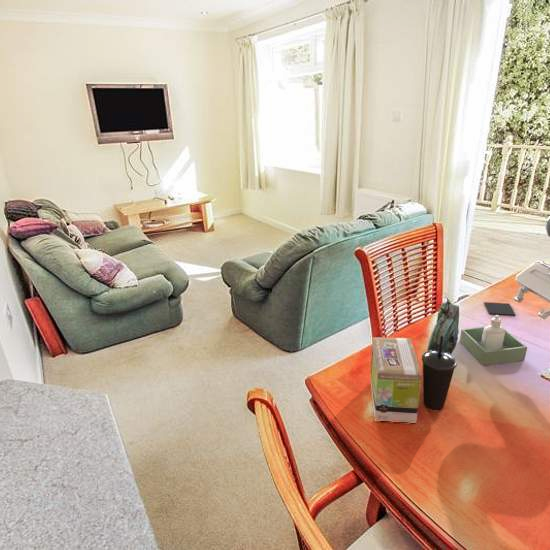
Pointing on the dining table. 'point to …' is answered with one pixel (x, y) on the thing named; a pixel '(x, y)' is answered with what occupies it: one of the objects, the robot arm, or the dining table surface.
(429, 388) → the drinking cup
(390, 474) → the dining table surface
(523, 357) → the crate
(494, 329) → the eye dropper bottle
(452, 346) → the dark green backpack
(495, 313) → the coaster
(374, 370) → the tea box
